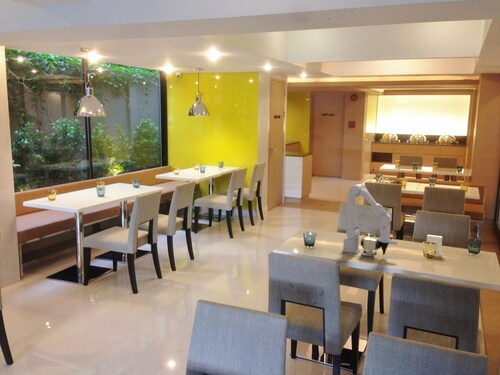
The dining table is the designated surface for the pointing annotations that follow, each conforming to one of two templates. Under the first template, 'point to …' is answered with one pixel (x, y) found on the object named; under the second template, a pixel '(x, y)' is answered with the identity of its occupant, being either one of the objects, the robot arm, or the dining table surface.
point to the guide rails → (367, 255)
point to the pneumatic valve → (370, 245)
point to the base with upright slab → (436, 240)
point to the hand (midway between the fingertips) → (383, 254)
